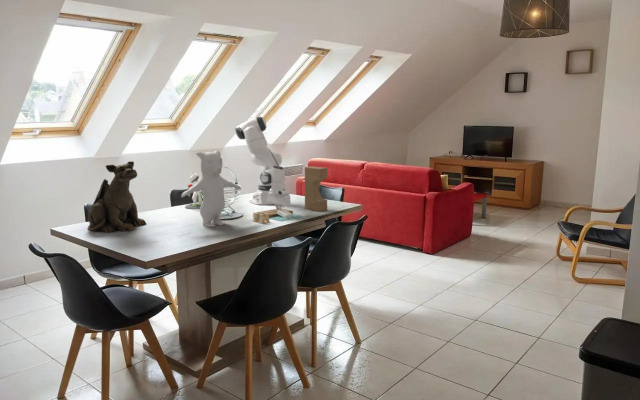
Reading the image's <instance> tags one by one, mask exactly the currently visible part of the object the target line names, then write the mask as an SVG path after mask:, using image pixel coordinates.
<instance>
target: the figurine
mask: <svg viewBox="0 0 640 400" xmlns="http://www.w3.org/2000/svg"><path fill="white" fill-rule="evenodd" d="M199 179H200V178H199V174H198V173H194V172H192V175H191V176H190V177H189V180H190V183H188V184H187V190H188V189H189V188H190V187H192V186H194V184H195V183H196V182H197V181H198V180H199ZM192 194H193V195H192V197H191V200H192V201H193V203H188V204H186V205H185V206H184V208H185V209H187V210H200V207H201V204H202V202H203V195H202V192H201V191H196V192H193V193H192Z"/></svg>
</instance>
